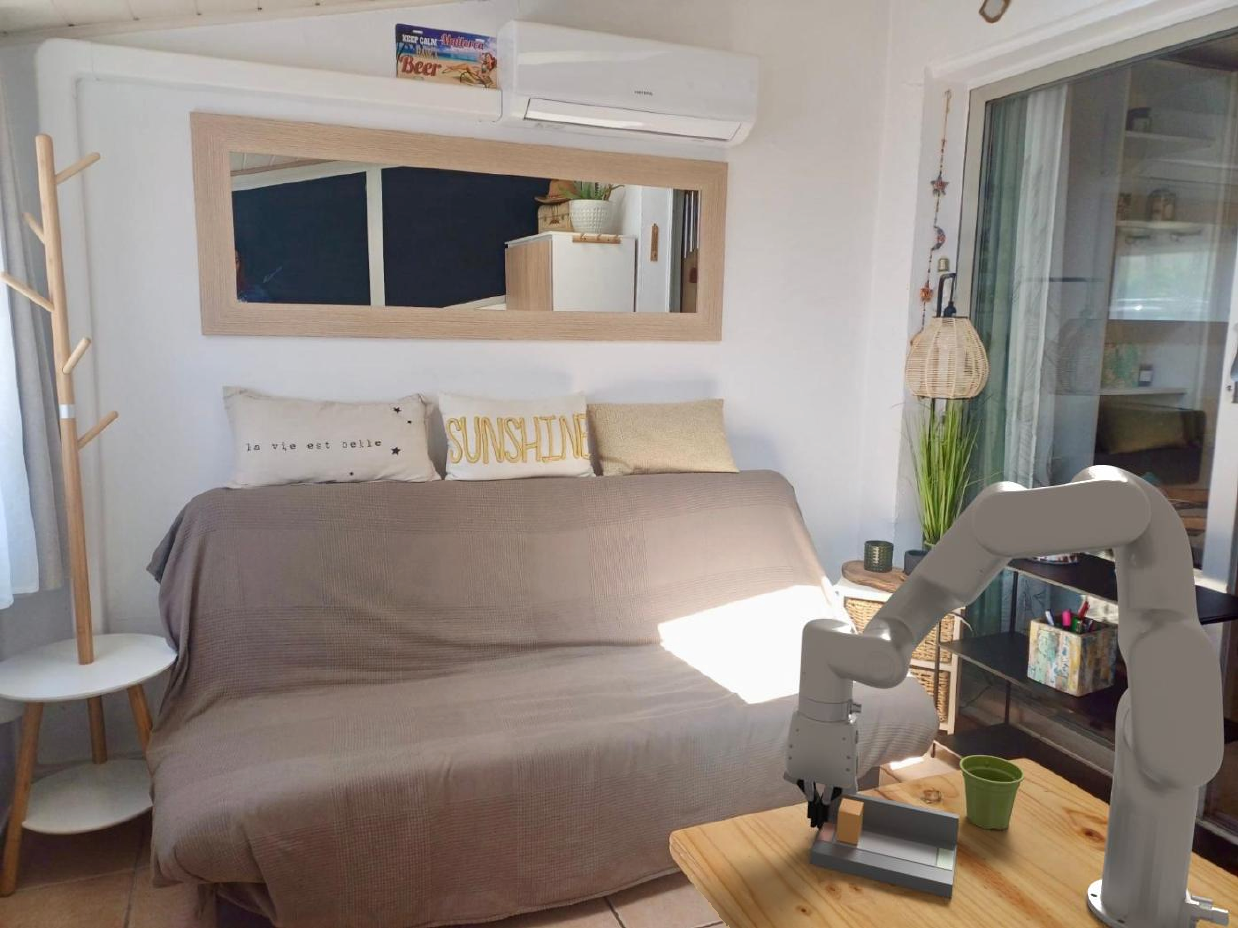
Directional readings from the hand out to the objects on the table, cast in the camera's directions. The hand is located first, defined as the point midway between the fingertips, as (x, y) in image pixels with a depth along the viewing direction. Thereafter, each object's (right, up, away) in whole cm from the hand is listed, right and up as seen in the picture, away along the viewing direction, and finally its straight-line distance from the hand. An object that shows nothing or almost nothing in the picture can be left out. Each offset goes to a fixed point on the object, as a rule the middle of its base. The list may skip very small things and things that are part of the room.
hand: (817, 823), depth 135 cm
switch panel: (+9, -4, -3) cm, 10 cm away
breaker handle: (+4, -1, -2) cm, 5 cm away
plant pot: (+28, -3, +8) cm, 29 cm away
